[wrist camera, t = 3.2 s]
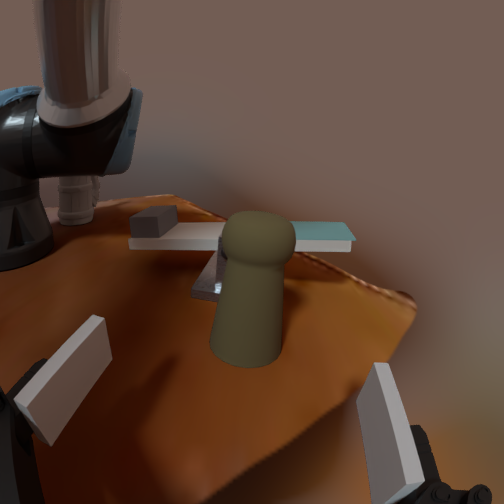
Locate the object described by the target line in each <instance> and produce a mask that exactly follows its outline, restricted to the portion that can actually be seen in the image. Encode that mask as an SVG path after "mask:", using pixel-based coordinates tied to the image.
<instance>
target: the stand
mask: <svg viewBox="0 0 504 504" xmlns="http://www.w3.org/2000/svg"><path fill="white" fill-rule="evenodd" d="M221 239H222V233H221V234H220V236H219V238H218V250H216V251H215V253H214V254H213V256H212V257H211V259H210V260H209V262H208V263H207V265H206V266H205V268H204V270H203V271H202V273H201V274H200V276H199V277H198V279H197V280H196V282H195V283H194V285H193V287H192V288H191V297H192V298H198V299H203V300H209V301H215V302H218V300H219V295H220V290H221V286H222V281H223V277H224V273H225V268H226V264H227V259H228V257H227V256H226V254H225V252H224V250H223V246H222V240H221Z"/></svg>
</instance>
